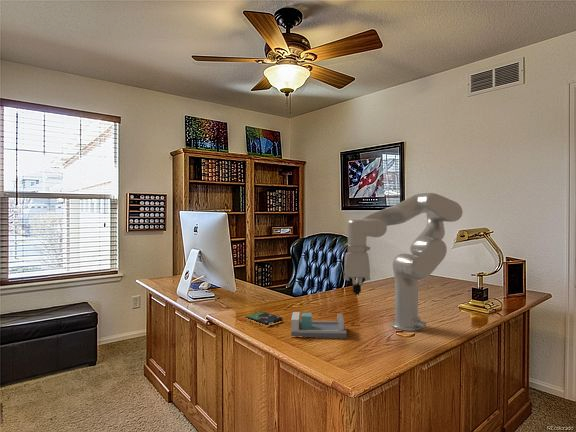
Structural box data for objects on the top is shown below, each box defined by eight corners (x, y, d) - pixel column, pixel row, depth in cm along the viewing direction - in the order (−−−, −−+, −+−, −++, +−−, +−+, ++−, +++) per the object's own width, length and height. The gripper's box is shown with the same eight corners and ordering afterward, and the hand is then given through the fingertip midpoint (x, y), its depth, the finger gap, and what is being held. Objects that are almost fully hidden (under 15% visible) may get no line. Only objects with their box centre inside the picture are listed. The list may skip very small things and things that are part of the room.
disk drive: (282, 323, 165) (260, 316, 175) (283, 317, 165) (260, 310, 175) (266, 329, 157) (244, 321, 168) (266, 322, 157) (244, 315, 167)
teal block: (311, 325, 153) (311, 312, 153) (311, 329, 148) (311, 316, 148) (302, 325, 153) (302, 312, 153) (301, 329, 148) (301, 316, 148)
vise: (344, 328, 155) (344, 312, 155) (346, 338, 143) (346, 320, 143) (293, 327, 157) (292, 311, 157) (291, 337, 145) (291, 320, 145)
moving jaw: (341, 324, 154) (341, 313, 154) (343, 332, 144) (343, 320, 144) (337, 324, 155) (337, 313, 154) (338, 332, 145) (338, 320, 145)
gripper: (373, 248, 151) (373, 292, 152) (338, 248, 153) (338, 291, 153) (377, 250, 144) (376, 296, 144) (339, 250, 145) (339, 296, 145)
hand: (356, 294), depth 149 cm, fingers closed
